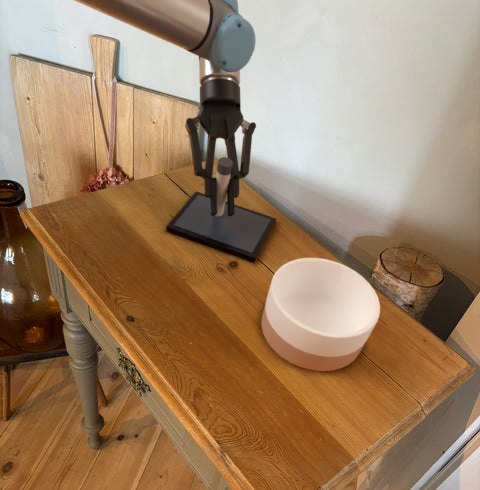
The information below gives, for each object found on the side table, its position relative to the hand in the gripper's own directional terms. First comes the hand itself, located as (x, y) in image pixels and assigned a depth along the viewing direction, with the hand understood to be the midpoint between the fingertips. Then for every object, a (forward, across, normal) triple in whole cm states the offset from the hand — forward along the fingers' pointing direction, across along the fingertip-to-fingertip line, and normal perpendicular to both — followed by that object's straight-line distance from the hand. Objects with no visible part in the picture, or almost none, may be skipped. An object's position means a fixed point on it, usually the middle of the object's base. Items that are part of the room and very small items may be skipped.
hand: (222, 214), depth 87 cm
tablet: (+2, -1, -4) cm, 5 cm away
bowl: (+21, -12, +14) cm, 28 cm away
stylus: (-1, 0, -6) cm, 6 cm away
